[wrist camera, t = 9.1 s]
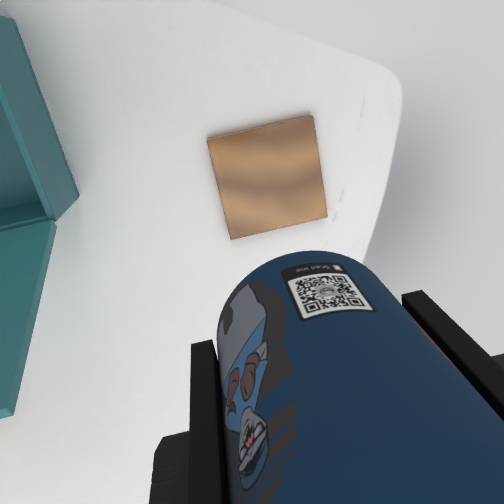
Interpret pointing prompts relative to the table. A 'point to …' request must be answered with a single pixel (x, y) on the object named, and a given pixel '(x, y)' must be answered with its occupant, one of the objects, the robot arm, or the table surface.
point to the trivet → (269, 176)
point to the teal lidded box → (28, 143)
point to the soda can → (345, 395)
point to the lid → (20, 301)
